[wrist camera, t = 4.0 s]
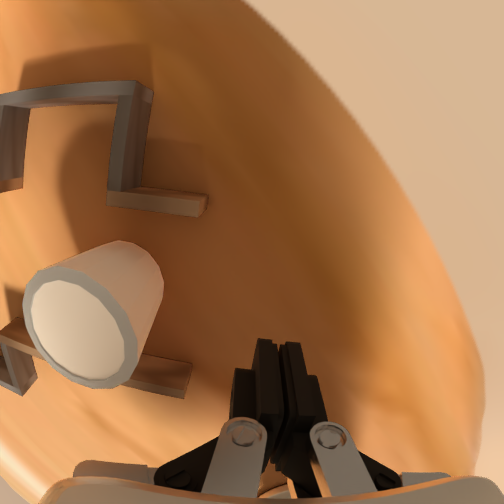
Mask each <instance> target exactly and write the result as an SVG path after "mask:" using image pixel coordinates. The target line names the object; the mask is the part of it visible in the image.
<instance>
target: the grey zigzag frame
mask: <svg viewBox="0 0 504 504" xmlns="http://www.w3.org/2000/svg"><path fill="white" fill-rule="evenodd" d="M153 94H154V92H153V91H152V90H150V89H149V88H147V87H146V86H144V85H142V84H141V83H139V82H138V81H136V80H128V81H100V82H84V83H73V84H63V85H54V86H46V87H39V88H32V89H26V90H20V91H14V92H9V93H4V94H0V193H3V192H7V191H12V190H16V189H21V188H23V169H24V156H25V145H26V136H27V128H28V120H29V114H30V108H40V107H51V106H65V105H84V104H118V105H117V110H116V117H115V123H114V130H113V137H112V145H111V153H110V162H109V172H108V183H107V197H106V206H113V207H121V208H129V209H137V210H145V211H153V212H160V213H168V214H175V215H183V216H190V217H197V218H198V217H199V216H200V215H201V214H202V213H203V212H204V211H205V210H206V209H207V204H208V196H209V195H206V194H199V193H191V192H183V191H175V190H166V189H158V188H149V187H140V186H141V177H142V167H143V159H144V151H145V144H146V136H147V130H148V123H149V117H150V111H151V105H152V99H153ZM0 345H1V349H2V352H3V356H4V357H1V356H0V385H1V386H3V387H5V388H7V389H9V390H11V391H13V392H15V393H17V394H19V395H21V396H23V395H24V394H25V393H26V392H27V390H28V389H29V388H30V387H31V385H32V384H33V383H34V382H35V381H36V379H37V374H36V371H35V367H34V364H33V360H32V356H35V357H37V358H40V359H42V360H45V359H44V357H43V356H42V355H41V354H40V353H39V351H38V350H37V349H36V347H35V345H34V343H33V341H32V339H31V337H30V335H29V333H28V331H27V328H26V325H25V320H24V319H21V318H18V317H16V318H15V319H14V320H13V321H11V322H10V323H9V324H8V325H7V326H5V327H4V328H3V329H2V330H0ZM31 355H32V356H31ZM45 361H46V360H45ZM191 371H192V364H191V363H186V362H180V361H175V360H170V359H165V358H160V357H155V356H151V355H146V354H141V356H140V359H139V361H138V364H137V366H136V367H135V369H134V371H133V373H132V375H131V377H130V378H129V380H128V381H126V382H124V383H122V384H120V385H123V386H127V387H131V388H135V389H139V390H143V391H148V392H152V393H157V394H161V395H166V396H171V397H176V398H181V399H184V397H185V393H186V390H187V386H188V383H189V379H190V375H191Z"/></svg>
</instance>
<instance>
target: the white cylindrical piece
mask: <svg viewBox="0 0 504 504" xmlns="http://www.w3.org/2000/svg"><path fill="white" fill-rule="evenodd" d="M163 290H164V280H163V277H162V274H161V271H160V268H159V266H158V264H157V263H156V262H155V260H154V259H153V258H152V256H151V255H150V254H149V252H147V251H146V250H144V249H142V248H141V247H139V246H138V245H136V244H135V243H131V242H125V241H120V240H117V241H114V242H110V243H106V244H103V245H100V246H98V247H95V248H93V249H90V250H88V251H85V252H83V253H80V254H78V255H75V256H73V257H70V258H68V259H65V260H63V261H61V262H58V263H56V264H53V265H51V266H49V267H46V268H44V269H42V270H39V271H38V272H37V273H36V274H35V275H34V277H33V278H32V279H31V280H30V281H29V282H28V284H27V285H26V289H25V293H24V298H23V303H22V307H23V313H24V319H25V325H26V328H27V331H28V333H29V335H30V337H31V339H32V341H33V343H34V345H35V347H36V349H37V350H38V351H39V353H40V354H41V355H42V356H43V357H44V359H45V360H46V361H47V362H48V363H49V364H50V365H51V367H52V368H54V369H55V370H56V371H58V372H59V373H61V374H62V375H63V376H65V377H66V378H68V379H69V380H71V381H72V382H75V383H78V384H81V385H83V386H86V387H89V388H92V389H111V388H114V387H116V386H118V385H120V384H122V383H124V382H126V381H128V380H129V378H130V377H131V375H132V373H133V371H134V369H135V367H136V366H137V364H138V361H139V359H140V356H141V353H142V350H143V348H144V345H145V342H146V340H147V337H148V334H149V332H150V329H151V327H152V324H153V322H154V319H155V316H156V314H157V311H158V309H159V306H160V304H161V301H162V299H163Z"/></svg>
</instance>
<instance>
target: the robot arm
mask: <svg viewBox="0 0 504 504" xmlns="http://www.w3.org/2000/svg"><path fill="white" fill-rule="evenodd" d="M269 458H270V462H271V463H272V464H275V469H276V471H282V473H283V474H284V475H285V476H287V477H288V478H287V484H286V485H283V486H280V487H277V488H274V489H272V490H269V491H267V492H266V493H264V494H262V495H261V496H259V497H258V498H257V493H258V488H259V482H260V476H261V474H262V473H263V472H264V471H265V468H266V466H267V463H268V460H269ZM39 504H504V495H503V494H502V492H501V491H500V489H499V488H498V486H497V485H496V484H495V483H494V482H493V481H491V480H489V479H487V478H484V477H479V476H454V477H451V476H450V475H448V474H446V473H441V472H435V473H411V472H402V473H401V474H400V475H398V474H397V473H396V472H394V471H393V470H391V469H389V468H388V467H386V466H384V465H382V464H380V463H379V462H377V461H375V460H373V459H372V458H370V457H368V456H366V455H365V454H363V453H361V452H360V451H358V450H357V448H356V446H355V444H354V442H353V440H352V438H351V436H350V434H349V432H348V431H347V429H345V428H344V427H343V426H341V425H339V424H337V423H334V422H328V419H327V415H326V411H325V407H324V403H323V399H322V395H321V391H320V387H319V383H318V379H317V376H315V375H307V371H306V366H305V362H304V357H303V353H302V348H301V344H300V343H297V342H287V341H286V342H285V345H282V344H281V345H280V347H279V351H278V349H277V344H272V340H269V339H260V338H258V340H257V344H256V349H255V354H254V359H253V364H252V369H251V370H248V369H240V368H235V372H234V378H233V384H232V391H231V401H230V413H229V420H228V421H227V422H226V423H225V424H224V425H223V427H222V429H221V432H220V435H219V436H218V437H216V438H215V439H213V440H211V441H209V442H207V443H205V444H203V445H202V446H200V447H198V448H196V449H194V450H192V451H190V452H188V453H186V454H184V455H182V456H180V457H178V458H176V459H174V460H172V461H170V462H168V463H166V464H164V465H162V466H161V467H159V468H149V467H147V465H138V464H124V463H113V462H104V461H96V460H86V461H83V462H80V463H79V464H78V465H77V466H76V467H75V470H74V472H73V478H67V479H63V480H60V481H58V482H56V483H55V484H53V485H52V486H51V487H50V488H49V489H48V490H47V492H46V493H45V494H44V496H43V497H42V499H41V500H40V502H39Z"/></svg>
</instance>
